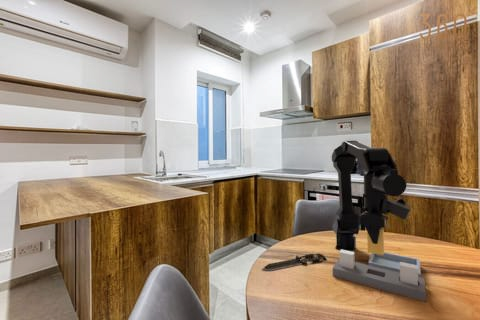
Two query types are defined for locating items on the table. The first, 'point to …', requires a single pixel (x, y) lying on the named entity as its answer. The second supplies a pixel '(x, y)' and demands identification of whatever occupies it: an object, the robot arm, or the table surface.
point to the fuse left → (347, 259)
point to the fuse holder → (381, 280)
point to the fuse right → (409, 273)
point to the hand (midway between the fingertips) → (375, 242)
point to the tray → (392, 261)
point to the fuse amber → (377, 247)
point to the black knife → (293, 262)
